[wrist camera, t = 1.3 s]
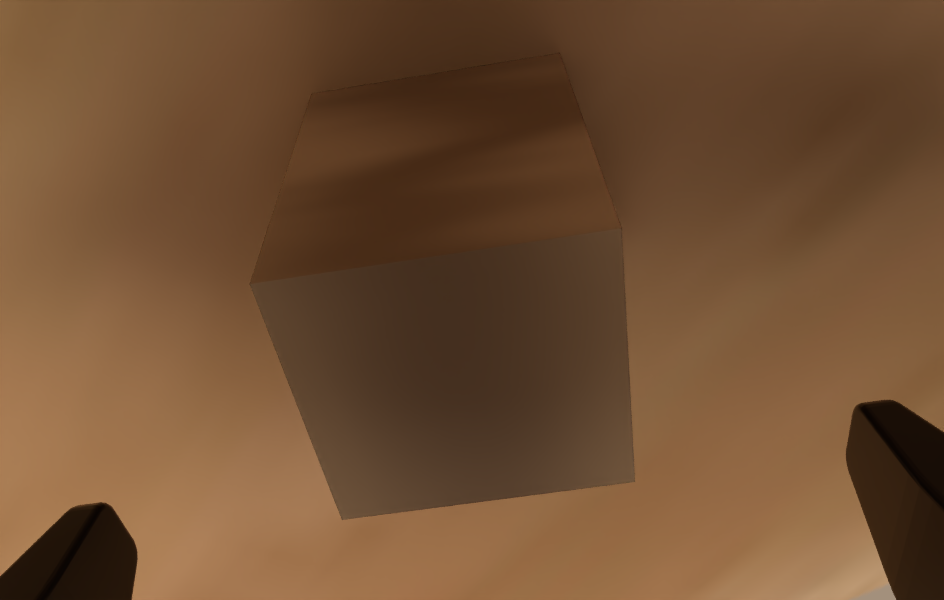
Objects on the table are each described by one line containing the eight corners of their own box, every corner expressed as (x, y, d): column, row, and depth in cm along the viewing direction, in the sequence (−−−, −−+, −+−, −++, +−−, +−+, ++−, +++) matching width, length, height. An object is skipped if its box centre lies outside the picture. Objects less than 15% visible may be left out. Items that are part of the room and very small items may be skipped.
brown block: (558, 52, 14) (621, 228, 9) (578, 260, 17) (635, 481, 12) (312, 92, 15) (249, 283, 10) (368, 292, 17) (342, 519, 12)
